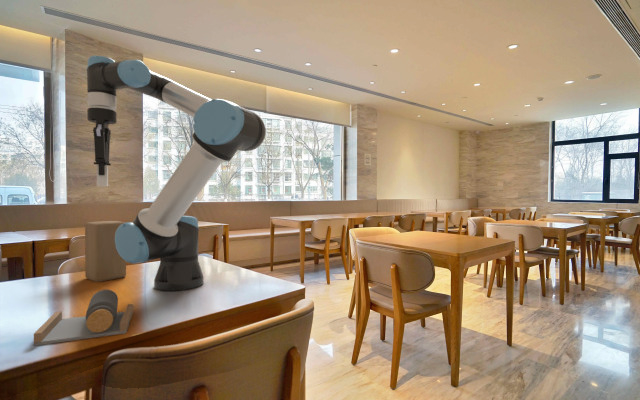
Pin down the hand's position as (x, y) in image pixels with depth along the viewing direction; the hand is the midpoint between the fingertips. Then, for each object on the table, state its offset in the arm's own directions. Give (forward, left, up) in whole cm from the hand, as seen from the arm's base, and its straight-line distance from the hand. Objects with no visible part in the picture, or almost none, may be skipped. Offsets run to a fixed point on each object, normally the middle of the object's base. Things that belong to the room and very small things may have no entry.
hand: (102, 186), depth 103 cm
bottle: (-5, +24, -29) cm, 38 cm away
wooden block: (+2, -17, -33) cm, 37 cm away
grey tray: (-3, +32, -32) cm, 46 cm away
